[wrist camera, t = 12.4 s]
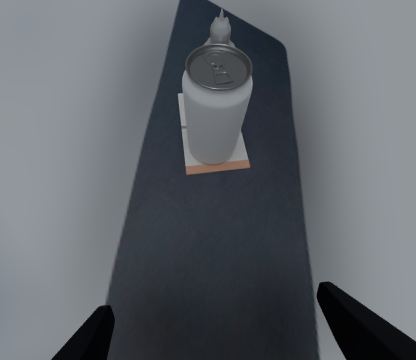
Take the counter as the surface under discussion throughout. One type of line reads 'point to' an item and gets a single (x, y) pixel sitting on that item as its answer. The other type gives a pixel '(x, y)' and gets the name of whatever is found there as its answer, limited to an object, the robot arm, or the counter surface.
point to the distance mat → (197, 167)
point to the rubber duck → (220, 31)
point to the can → (215, 100)
